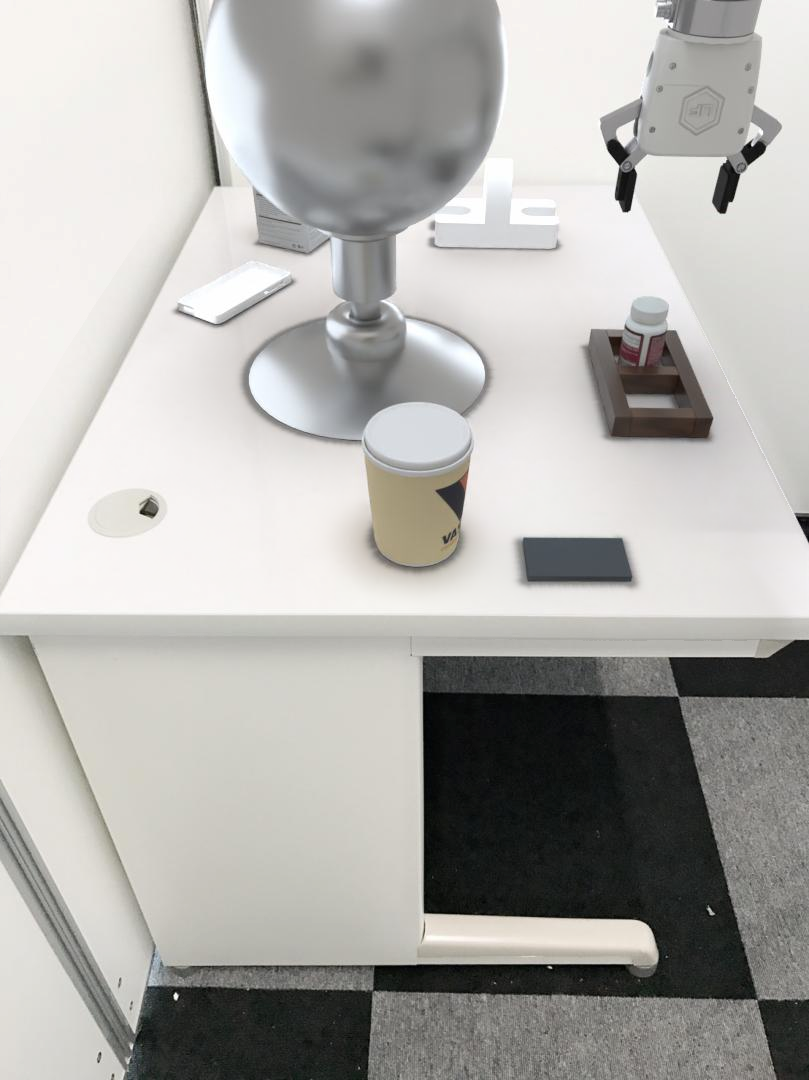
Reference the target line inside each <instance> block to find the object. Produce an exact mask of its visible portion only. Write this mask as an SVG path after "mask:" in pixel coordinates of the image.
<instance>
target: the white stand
mask: <svg viewBox="0 0 809 1080" xmlns="http://www.w3.org/2000/svg"><path fill="white" fill-rule="evenodd" d="M483 176H484V177H483V191H482V192H483V193H482V198H478V197H477V198H469V197H467V198H465V197H454V198H453V199H452V200H451V201H450V202H449V203H447V204H446V205H445V206H444V207H442V208H441V209H440V210H438V211H437V212H435V213H434V214H435V215H434V216H435V217H434V245H435V246H436V247H439V248H475V249H476V248H478V249H482V248H483V249H529V250H530V249H531V250H532V249H535V250H539V249H541V250H551V249H552V250H553V249H555V248H557V244H558V243H557V242H558V234H559V227H560V220H559V216H556V208H557V206H556V202H555V201H554V200H552V199H536V198H535V199H534V198H533V199H532V198H513V187H514V186H513V183H514V178H513V177H514V164H513V159H512V158H485V165H484V174H483Z"/></svg>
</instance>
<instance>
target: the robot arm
mask: <svg viewBox="0 0 809 1080" xmlns="http://www.w3.org/2000/svg"><path fill="white" fill-rule="evenodd" d="M762 2H763V0H656V1H655V3H654V9H653V18H654V19H661V20H662V21H663V20H665V22H666V24H667V27H665V28H661V29H660V30H659V32H658V34H657V37H656V40H655V42H654V45H653V48H652V50H651V54H650V57H649V59H648V62H647V67H646V71H645V74H644V77H643V80H642V84H641V89H640V93H639V96H638V99H635V100H634V101H631V102H629V103H628V104H625V105H624V106H621V107H619V108H617V109H615V110H613V111H611V112H609V113H607V114H605V115H603V116H601V117H600V118H599V120H598V121H597V124H598V127H599V130H600V134H601V137H602V140H603V143H604V146H605V148H606V150H607V152H608V153H609V155H610V156H611V158H612V159H613V160H614V162H615V163H616V164H617V165H618V171H617V177H616V184H615V189H614V200H615V201H616V202H618V204H619V206H620V210H621V212H622V213H629V212H631V211H632V205H633V201H634V194H635V190H636V184H637V178H638V172H637V170H636V166H637V165H638V164H639V163H640V162H641V161H642V160H643V159H644V158H645V157H646V156H647V155H649V156H654V157H671V158H672V157H675V158H677V157H678V158H726V161H725V162H722V165H720V168H719V171H718V175H717V179H716V183H715V187H714V191H713V194H712V199H711V203H712V205H713V207H714V208H715V210H716V212H717V213H719V215H726V214H727V211H728V208H729V204H730V203H733V202H734V201H735V197H736V193H737V189H738V185H739V181H740V177H741V174H744V173H745V172H747V169H748V168H749V166H750V165H752V164H753V163H754V162H755V161H756V160H758V159H759V158H760V157H762V155H764V154H765V152H766V150H767V147H768V146H769V145H771V143H772V142H773V141H774V140H775V139H776V137H777V136H778V134H779V133H780V132H781V131H782V128H783V125H782V123H781V122H780V121H779V120H778V119H777V118H776V117H774V116H773V115H771V114H770V113H768V112H767V111H765V110H763V109H762V108H760V107H759V106H758V105H756V104H755V102H756V94H757V89H758V84H759V77H760V76H759V75H760V69H761V60H762V52H763V50H762V49H763V37H762V35H759V34H758V33H757V32H756V31H755V30H756V25H757V21H758V18H759V13H760V9H761V5H762ZM631 122H633V127H632V130H633V131H632V133H633V137H632V138H631V139H630V141H628V142H627V143H626V144H625V145H623V144H622V143H621V142H620V140H619V139H618V136H617V130H618V129H620V128H621V127H622V126H625V125H627V124H629V123H631ZM751 123H752V124H753V125H755V126H756V127H758V128H759V130H758V132H757V133H756V136H755V137H754V138H752V139H750V141H748V142H747V143H746V141H747V138H748V135H749V131H750V128H751Z"/></svg>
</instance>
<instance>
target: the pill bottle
mask: <svg viewBox="0 0 809 1080" xmlns="http://www.w3.org/2000/svg"><path fill="white" fill-rule="evenodd" d="M669 309H670V306H669V303H668V302H667V301H666V300H664V299H663V298H660V297H657V296H650V295H645V296H643V295H642V296H639V297H636V298H635V299H633V300H632V302H631V307H630V314H629V315H628V316H627V317H626V319H625V321H624V327H623V330H624V332H623V337H622V342H621V348H620V354H619V355H618V360H617V364H616V365H617V366H660V364H661V361H662V359H661V355H662V351H663V346H664V342H665V337H666V333H667V330H669V324H668V320H667V318H668V313H669Z"/></svg>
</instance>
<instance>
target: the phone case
mask: <svg viewBox="0 0 809 1080" xmlns="http://www.w3.org/2000/svg"><path fill="white" fill-rule="evenodd" d="M291 282H292V273H291V272H290V271H289V270H285V269H282V268H279V267H276V266H273V265H270V264H266V263H263V262H260V261H257V260H249V261H248V262H246V263H244V264H241V265H240V266H238V267H236V268H234V269H232V270H230V271H228V272H227V273H225V274H223V275H221V276H219V277H217V278H216V279H214V280H212V281H210V282H208V283H206V284H205V285H203V286H201V287H199V288H197V289H195V290H193V291H192V292H189V293H188V294H186V295H184V296H182V297H180V298H179V299H177V307H178V312H179V311H180V312H181V313H184V314H187V315H190V316H193V317H196V318H198V319H201V320H203V321H206V322H209V323H211V324H215V325H220V324H223V323H225V322H226V321H228V320H229V319H231V318H233V317H235V316H236V315H238V314H240V313H241V312H244V311H245V310H246V309H249V308H251V307H252V306H253V305H255V304H257V303H259V302H260V301H263V300H264V299H266V298H267V297H269V296H271V295H272V294H274V293H276V292H278V291H279V290H281V289H282V288H284V287H286V286H288V285H289V284H291ZM280 283H281V284H280ZM272 288H273V289H272ZM270 289H271V290H270Z"/></svg>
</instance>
